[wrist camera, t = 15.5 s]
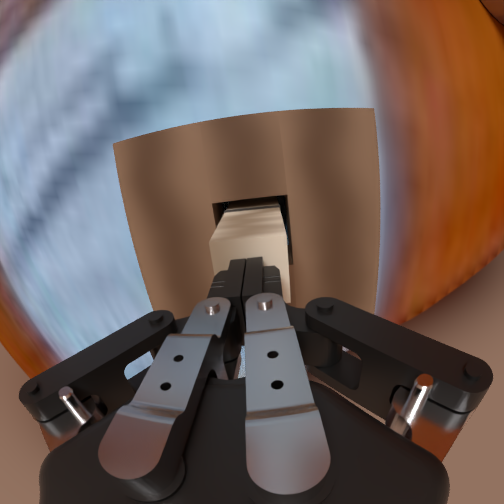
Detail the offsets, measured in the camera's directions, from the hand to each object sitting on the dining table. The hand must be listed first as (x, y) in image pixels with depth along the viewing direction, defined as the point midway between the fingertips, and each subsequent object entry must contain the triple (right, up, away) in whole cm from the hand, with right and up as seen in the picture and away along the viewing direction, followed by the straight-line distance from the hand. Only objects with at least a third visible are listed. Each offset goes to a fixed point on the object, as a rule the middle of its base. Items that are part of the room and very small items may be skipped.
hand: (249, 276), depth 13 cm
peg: (0, +4, +10) cm, 10 cm away
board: (0, +4, +10) cm, 10 cm away
